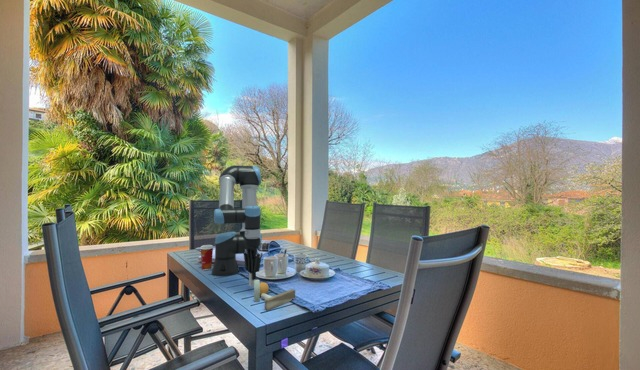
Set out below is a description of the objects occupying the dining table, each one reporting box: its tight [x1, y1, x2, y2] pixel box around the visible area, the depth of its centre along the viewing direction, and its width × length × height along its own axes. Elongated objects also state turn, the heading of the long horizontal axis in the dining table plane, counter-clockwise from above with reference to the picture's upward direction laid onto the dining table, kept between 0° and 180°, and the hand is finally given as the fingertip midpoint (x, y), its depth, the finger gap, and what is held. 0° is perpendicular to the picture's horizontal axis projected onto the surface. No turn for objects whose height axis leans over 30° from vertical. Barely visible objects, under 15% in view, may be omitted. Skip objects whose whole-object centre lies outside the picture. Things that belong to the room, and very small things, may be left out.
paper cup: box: [199, 244, 214, 270], centre depth 175 cm, size 8×8×14 cm
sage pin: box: [253, 279, 261, 303], centre depth 126 cm, size 2×2×9 cm
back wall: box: [264, 288, 296, 311], centre depth 122 cm, size 2×16×4 cm, turn 141°
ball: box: [260, 281, 270, 297], centre depth 132 cm, size 6×6×6 cm
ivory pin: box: [260, 293, 273, 301], centre depth 125 cm, size 2×2×9 cm
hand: (252, 285), depth 138 cm, fingers closed
